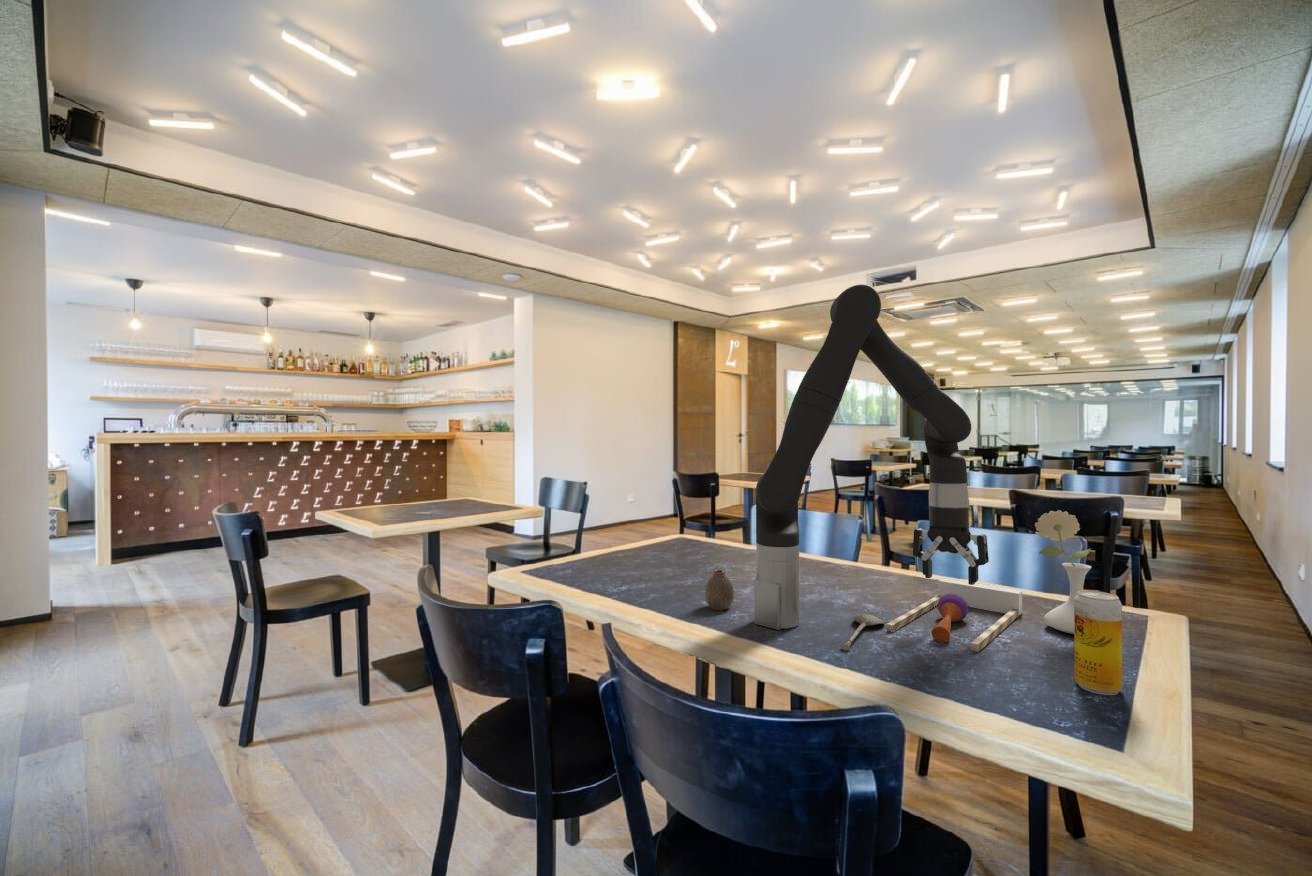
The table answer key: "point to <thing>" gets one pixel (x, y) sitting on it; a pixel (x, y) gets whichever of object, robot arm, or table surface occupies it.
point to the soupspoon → (861, 627)
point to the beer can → (1098, 642)
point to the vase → (719, 591)
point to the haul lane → (975, 645)
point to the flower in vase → (1057, 529)
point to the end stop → (983, 595)
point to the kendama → (949, 615)
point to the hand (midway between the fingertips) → (949, 580)
